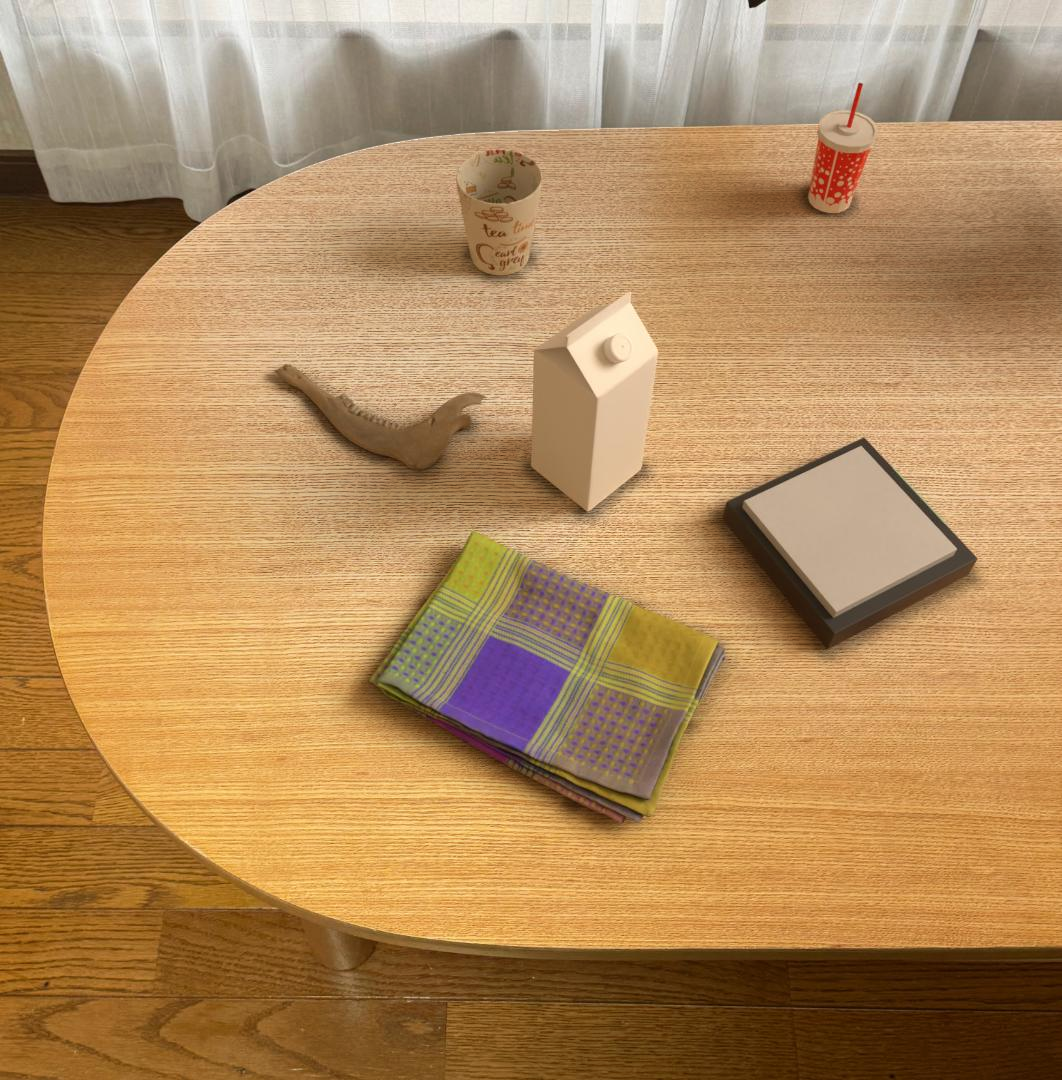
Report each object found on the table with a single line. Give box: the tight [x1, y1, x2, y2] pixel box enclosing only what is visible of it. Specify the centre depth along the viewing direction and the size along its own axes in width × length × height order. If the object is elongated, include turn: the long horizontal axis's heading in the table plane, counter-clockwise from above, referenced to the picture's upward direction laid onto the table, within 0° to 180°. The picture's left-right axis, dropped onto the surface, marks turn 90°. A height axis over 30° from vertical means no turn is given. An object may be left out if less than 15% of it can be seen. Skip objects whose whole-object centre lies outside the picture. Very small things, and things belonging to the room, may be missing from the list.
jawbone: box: [274, 363, 487, 470], centre depth 107 cm, size 9×20×2 cm, turn 78°
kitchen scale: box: [721, 437, 979, 650], centre depth 99 cm, size 15×15×4 cm
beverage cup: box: [807, 82, 880, 214], centre depth 122 cm, size 6×6×14 cm
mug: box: [455, 149, 543, 276], centre depth 118 cm, size 8×13×10 cm, turn 166°
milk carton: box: [530, 291, 659, 512], centre depth 98 cm, size 7×7×19 cm
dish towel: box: [368, 530, 726, 825], centre depth 92 cm, size 18×24×3 cm
